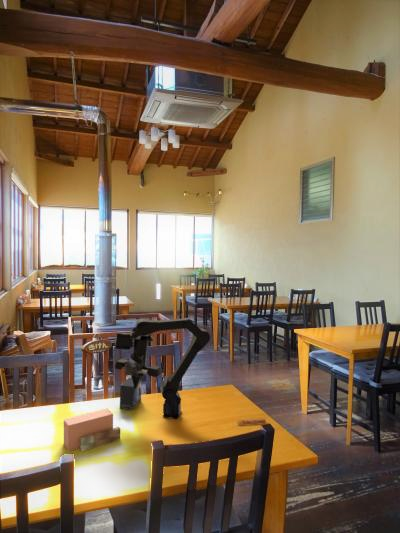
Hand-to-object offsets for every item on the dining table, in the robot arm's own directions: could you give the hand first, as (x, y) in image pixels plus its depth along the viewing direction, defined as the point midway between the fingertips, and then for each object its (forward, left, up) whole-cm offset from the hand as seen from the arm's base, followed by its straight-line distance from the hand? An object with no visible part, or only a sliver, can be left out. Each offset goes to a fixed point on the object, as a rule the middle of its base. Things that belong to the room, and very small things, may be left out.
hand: (135, 388), depth 149 cm
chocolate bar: (-46, -8, -13) cm, 49 cm away
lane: (+8, +19, -12) cm, 24 cm away
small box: (+7, -12, -13) cm, 19 cm away
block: (+9, +21, -13) cm, 26 cm away
